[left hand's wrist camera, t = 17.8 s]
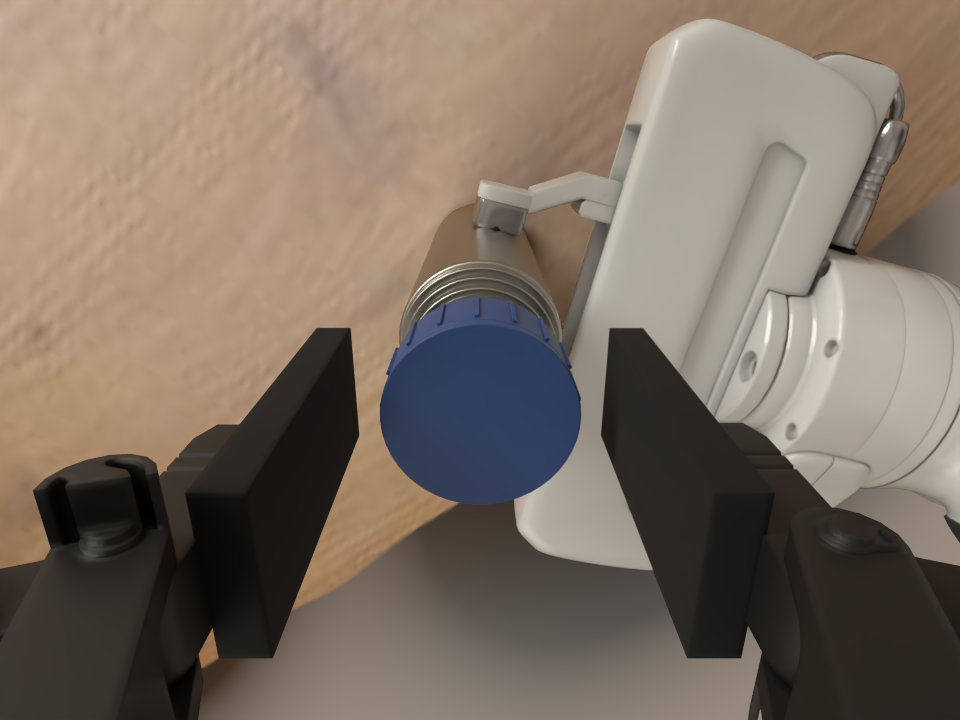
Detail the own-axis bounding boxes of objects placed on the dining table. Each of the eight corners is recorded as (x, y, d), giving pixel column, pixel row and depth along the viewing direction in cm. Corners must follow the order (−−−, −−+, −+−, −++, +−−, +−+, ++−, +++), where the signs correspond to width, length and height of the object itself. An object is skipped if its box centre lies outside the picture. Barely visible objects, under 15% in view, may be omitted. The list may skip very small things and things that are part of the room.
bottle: (419, 218, 28) (342, 339, 12) (514, 191, 28) (560, 278, 12) (448, 309, 30) (412, 519, 14) (538, 284, 29) (607, 471, 13)
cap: (468, 490, 15) (466, 539, 13) (352, 369, 14) (333, 406, 12) (605, 394, 14) (623, 434, 12) (493, 256, 13) (495, 277, 11)
